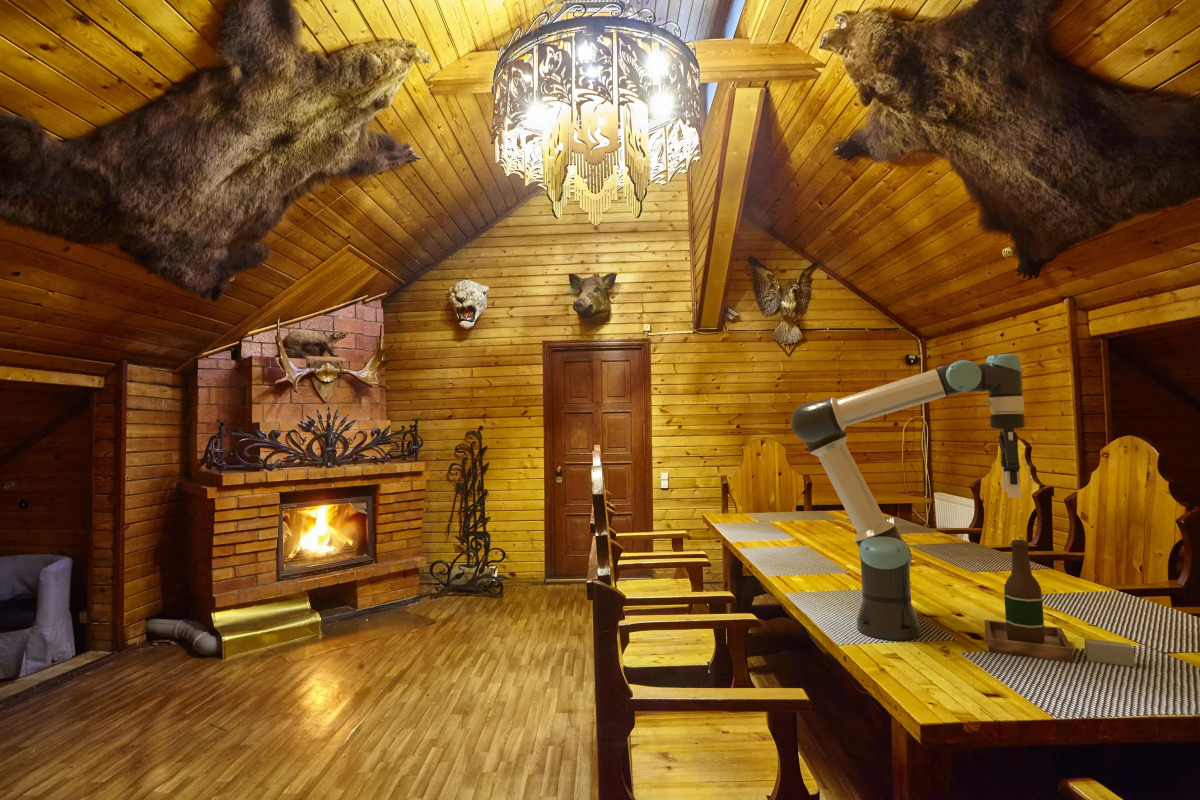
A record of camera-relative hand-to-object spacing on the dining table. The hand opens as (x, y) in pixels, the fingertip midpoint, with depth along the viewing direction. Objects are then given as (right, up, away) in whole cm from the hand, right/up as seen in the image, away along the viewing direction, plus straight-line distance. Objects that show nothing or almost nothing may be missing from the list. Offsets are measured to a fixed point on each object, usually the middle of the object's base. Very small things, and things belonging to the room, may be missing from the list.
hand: (1011, 494), depth 161 cm
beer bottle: (-5, -33, -13) cm, 36 cm away
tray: (-5, -34, -13) cm, 37 cm away
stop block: (+6, -33, -24) cm, 41 cm away
